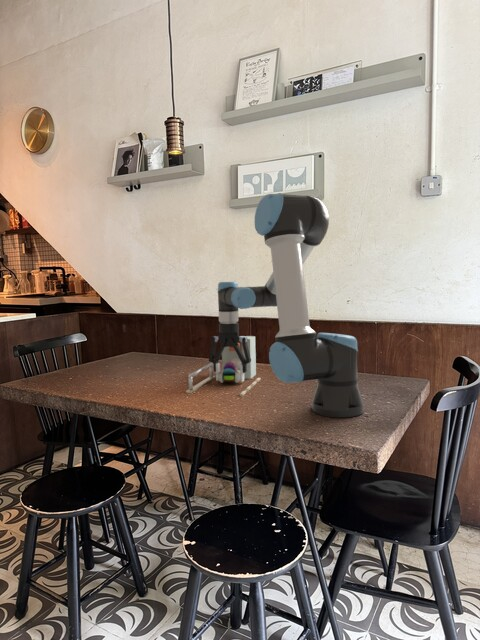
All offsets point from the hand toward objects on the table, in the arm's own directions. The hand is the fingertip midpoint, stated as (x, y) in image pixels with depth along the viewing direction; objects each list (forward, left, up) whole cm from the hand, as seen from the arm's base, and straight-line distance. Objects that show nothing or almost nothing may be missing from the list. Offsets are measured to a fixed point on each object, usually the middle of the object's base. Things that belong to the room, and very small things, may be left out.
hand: (230, 380), depth 170 cm
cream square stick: (-4, -9, -1) cm, 11 cm away
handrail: (-4, +10, -1) cm, 11 cm away
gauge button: (+7, 0, +11) cm, 13 cm away
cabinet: (+12, 0, -1) cm, 12 cm away
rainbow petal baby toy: (0, 0, 0) cm, 1 cm away
